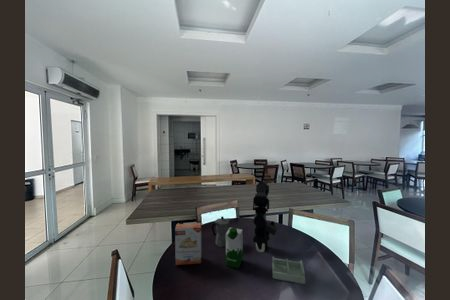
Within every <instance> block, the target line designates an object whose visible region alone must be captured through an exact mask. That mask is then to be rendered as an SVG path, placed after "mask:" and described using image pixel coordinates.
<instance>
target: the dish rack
mask: <svg viewBox="0 0 450 300" xmlns="http://www.w3.org/2000/svg"><path fill="white" fill-rule="evenodd" d="M271 260H272V264H271V265H272V267H271V268H272V269H271V270H272V279H275V280H280V281H285V282H291V283H292V282H293V283H297V284H303V285H306V276H305V275H306V272H305V267H304V264H303V260H299V261H294V260H289V258H285V259H283V258H282V259H281V258H276V257H275V256H272V259H271Z"/></svg>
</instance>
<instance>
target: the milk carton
mask: <svg viewBox="0 0 450 300" xmlns="http://www.w3.org/2000/svg"><path fill="white" fill-rule="evenodd" d="M243 232H244V231H243V229H240V228H235V227H229V228H228V231H227V233H226V247H225V265H226V267H231V268H234V269H239V268H240V265H241V264H242V260H243V249H244V248H243V247H244V246H243V243H244V242H243V241H244V239H243Z"/></svg>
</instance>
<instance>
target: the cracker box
mask: <svg viewBox="0 0 450 300" xmlns="http://www.w3.org/2000/svg"><path fill="white" fill-rule="evenodd" d="M174 230H175V231H174V235H175V236H174V237H175V238H174V240H175V241H174V243H175V244H174V245H175V246H174V247H175V249H174V250H175V266H181V265H195V264H198V265H199V264H202V223H201V222H194V223H177V224H176V225H175V229H174Z"/></svg>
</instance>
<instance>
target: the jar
mask: <svg viewBox="0 0 450 300" xmlns="http://www.w3.org/2000/svg"><path fill="white" fill-rule="evenodd" d="M255 250H256V251H257V252H258V253H264V252H266V251H265V244H262V248H261V250H259V248H258V246H257V244H256V243H255Z"/></svg>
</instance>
